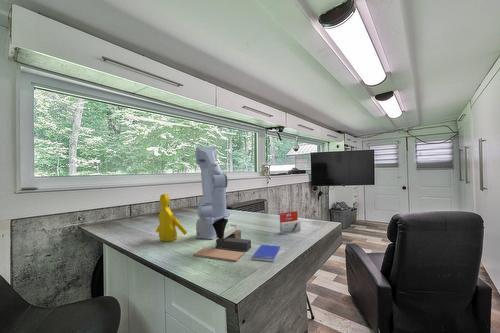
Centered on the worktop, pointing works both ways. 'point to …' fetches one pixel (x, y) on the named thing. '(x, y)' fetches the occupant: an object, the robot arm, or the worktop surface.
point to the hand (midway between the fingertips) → (220, 237)
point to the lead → (233, 244)
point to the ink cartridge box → (289, 223)
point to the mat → (219, 254)
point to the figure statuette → (167, 221)
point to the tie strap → (230, 229)
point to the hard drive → (266, 253)
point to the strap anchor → (235, 235)
